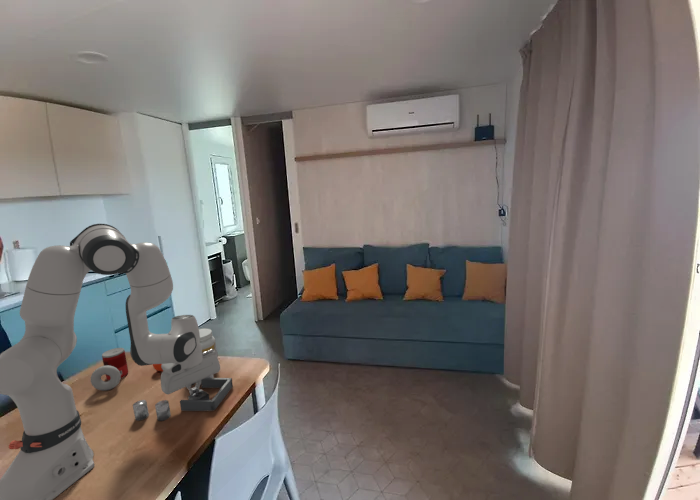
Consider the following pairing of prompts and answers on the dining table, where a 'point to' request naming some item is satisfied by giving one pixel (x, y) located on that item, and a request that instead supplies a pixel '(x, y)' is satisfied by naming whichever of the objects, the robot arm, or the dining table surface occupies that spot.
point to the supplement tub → (207, 340)
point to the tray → (209, 404)
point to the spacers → (161, 407)
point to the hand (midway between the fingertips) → (194, 393)
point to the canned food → (116, 361)
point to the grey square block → (199, 395)
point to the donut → (103, 385)
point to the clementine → (157, 367)
